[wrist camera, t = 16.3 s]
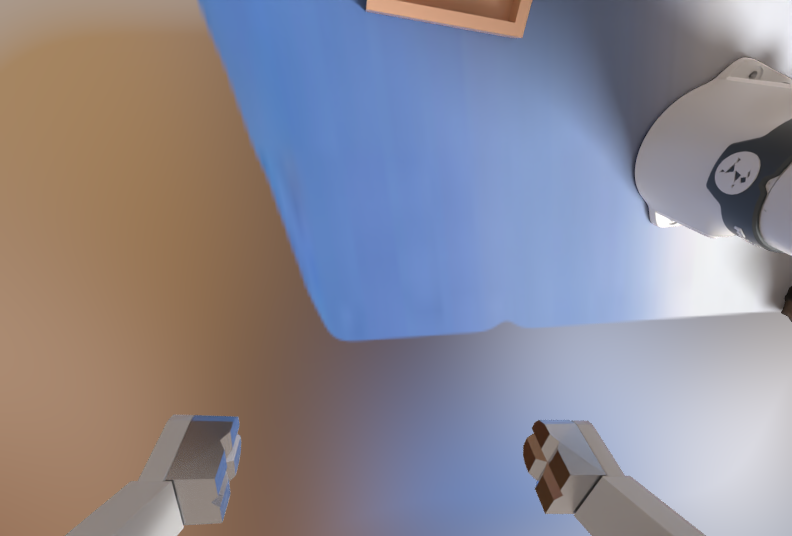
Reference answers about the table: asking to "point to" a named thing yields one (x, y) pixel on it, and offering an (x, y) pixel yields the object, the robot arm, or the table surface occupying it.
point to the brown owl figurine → (788, 304)
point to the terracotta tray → (461, 14)
